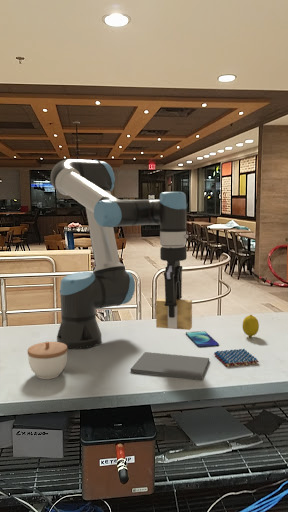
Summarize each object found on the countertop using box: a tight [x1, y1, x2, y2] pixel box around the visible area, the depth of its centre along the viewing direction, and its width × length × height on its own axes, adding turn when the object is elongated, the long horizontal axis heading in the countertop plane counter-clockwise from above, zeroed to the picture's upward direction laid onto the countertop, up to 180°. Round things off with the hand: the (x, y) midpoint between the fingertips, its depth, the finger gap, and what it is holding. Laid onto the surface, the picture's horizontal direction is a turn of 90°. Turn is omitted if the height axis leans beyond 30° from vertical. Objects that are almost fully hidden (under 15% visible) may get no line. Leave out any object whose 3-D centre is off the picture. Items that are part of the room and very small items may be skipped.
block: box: [155, 298, 193, 331], centre depth 124 cm, size 10×3×8 cm, turn 73°
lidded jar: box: [27, 341, 68, 380], centre depth 118 cm, size 11×11×9 cm
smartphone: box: [185, 330, 220, 348], centre depth 147 cm, size 8×1×15 cm
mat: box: [130, 351, 210, 381], centre depth 123 cm, size 20×14×1 cm
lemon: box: [242, 314, 260, 338], centre depth 148 cm, size 6×6×8 cm
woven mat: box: [213, 348, 260, 368], centre depth 128 cm, size 10×11×2 cm
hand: (174, 325), depth 125 cm, fingers closed on block, 3 cm apart
